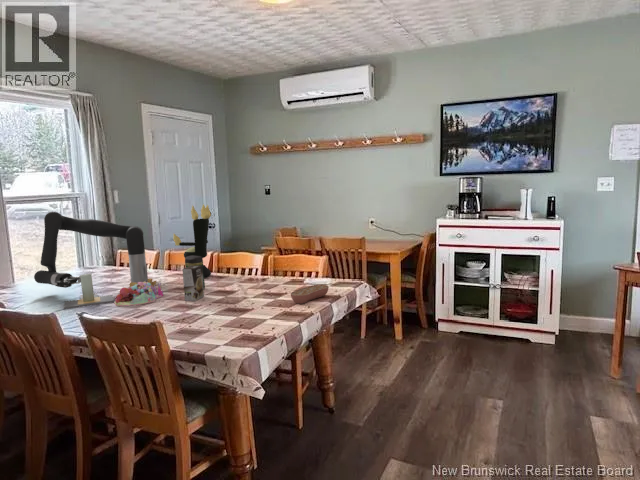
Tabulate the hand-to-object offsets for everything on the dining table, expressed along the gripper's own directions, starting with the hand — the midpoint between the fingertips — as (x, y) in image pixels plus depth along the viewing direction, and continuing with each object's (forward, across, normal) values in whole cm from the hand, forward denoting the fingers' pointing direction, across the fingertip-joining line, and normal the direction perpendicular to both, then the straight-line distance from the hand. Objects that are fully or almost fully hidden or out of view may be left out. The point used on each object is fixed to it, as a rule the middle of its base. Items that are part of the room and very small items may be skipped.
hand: (79, 282), depth 228 cm
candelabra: (+15, +66, +10) cm, 69 cm away
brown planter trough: (+106, +51, +10) cm, 118 cm away
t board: (+3, +2, +10) cm, 10 cm away
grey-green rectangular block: (+7, 0, +8) cm, 11 cm away
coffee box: (+52, +28, +10) cm, 60 cm away
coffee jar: (+37, +43, +10) cm, 57 cm away
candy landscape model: (+25, +16, +10) cm, 31 cm away
